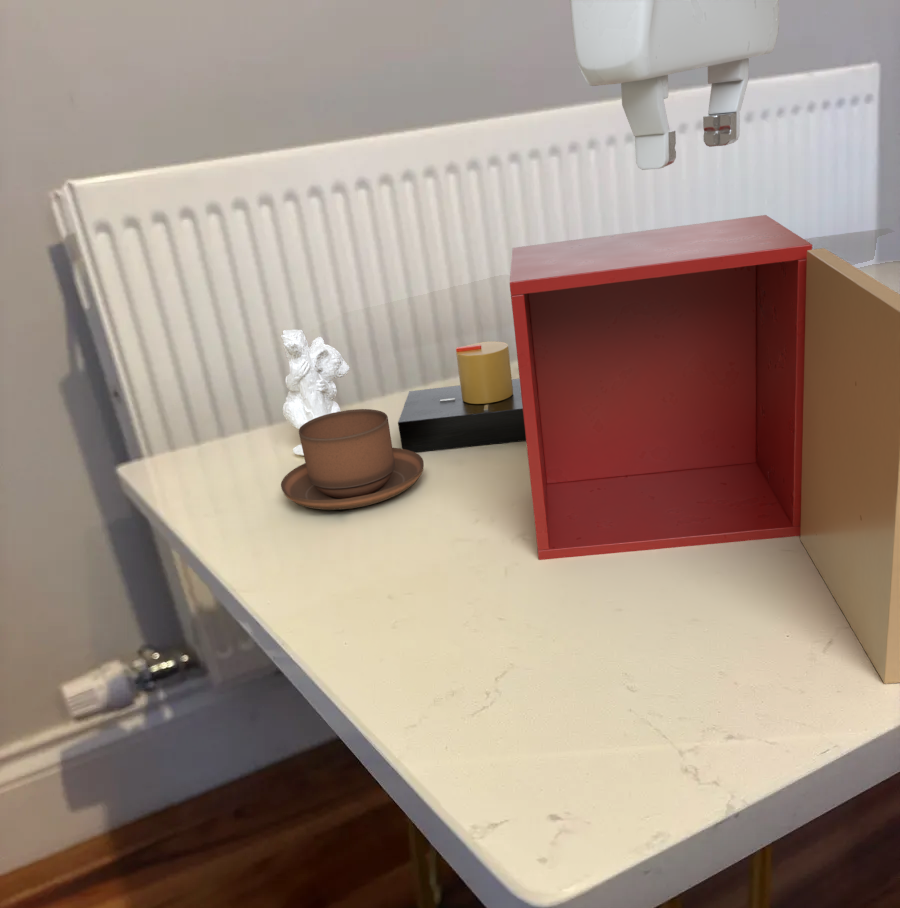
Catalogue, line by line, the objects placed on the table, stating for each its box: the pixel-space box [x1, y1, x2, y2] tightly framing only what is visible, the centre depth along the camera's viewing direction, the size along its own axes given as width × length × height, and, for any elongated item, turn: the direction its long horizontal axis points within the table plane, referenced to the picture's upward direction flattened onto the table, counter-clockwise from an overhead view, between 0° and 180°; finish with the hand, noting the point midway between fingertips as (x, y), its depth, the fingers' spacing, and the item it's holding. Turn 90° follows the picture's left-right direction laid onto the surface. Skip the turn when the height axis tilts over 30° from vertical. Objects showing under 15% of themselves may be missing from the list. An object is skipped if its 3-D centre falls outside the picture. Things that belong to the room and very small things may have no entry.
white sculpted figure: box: [280, 329, 350, 457], centre depth 95 cm, size 8×7×12 cm
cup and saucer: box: [280, 408, 425, 511], centre depth 85 cm, size 12×12×6 cm
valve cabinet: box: [509, 214, 813, 561], centre depth 70 cm, size 13×18×19 cm
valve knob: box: [455, 340, 513, 404], centre depth 95 cm, size 5×5×5 cm
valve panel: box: [397, 378, 526, 453], centre depth 97 cm, size 12×10×3 cm
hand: (690, 155), depth 61 cm, fingers open, 8 cm apart
